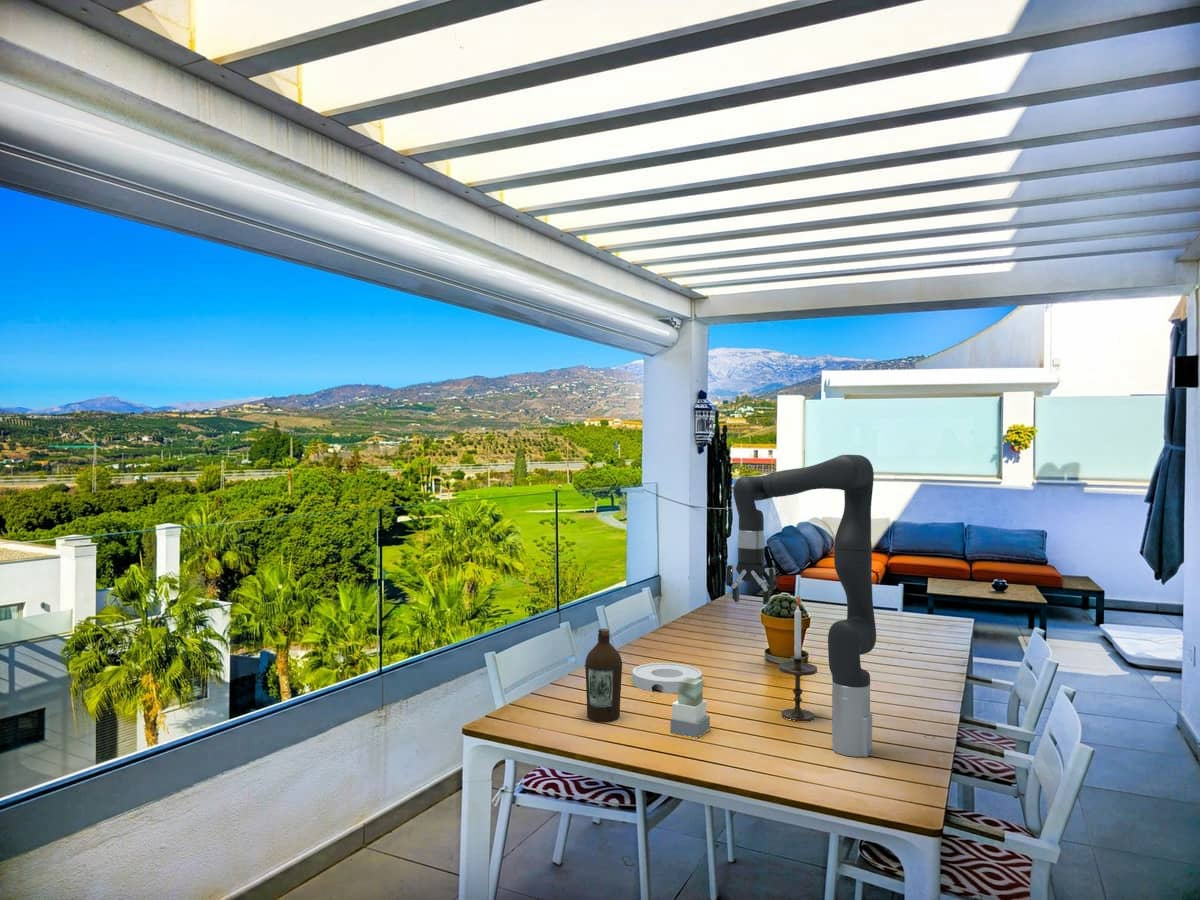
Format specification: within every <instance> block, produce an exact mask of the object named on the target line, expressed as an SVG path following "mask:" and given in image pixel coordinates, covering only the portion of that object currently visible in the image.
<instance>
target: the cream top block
mask: <svg viewBox="0 0 1200 900" xmlns="http://www.w3.org/2000/svg"><path fill="white" fill-rule="evenodd" d="M671 706H672V707H671V708H672V709H671V719H672V718H673V719H678V720H683V721H689V722H694V723H696V722H698V721H699V720H701V719H702V718H704V717H705V716H707V700H703V702H702V703H700V704H699V705H697V706H696V707H693V706H687V705H682V704H678V699H677V700H676V701H674V702H672V704H671Z"/></svg>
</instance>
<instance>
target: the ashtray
mask: <svg viewBox="0 0 1200 900" xmlns="http://www.w3.org/2000/svg"><path fill="white" fill-rule="evenodd" d="M686 677H687V678H693V679H700V680H703V672H702V670H701V669H699V668H698V667H695V666H693V665H689V664H688V665H687V664H685V663H684V664H683V663H682V664H681V663H673V662H654V663H653V662H652V663H645V664H641V665H637V666H636V667H633V668H632V670H631V683H632V685H633V686H634V687H636V688H637V689H640V690H642V691H647V692H650V693H651V692H653V689H656V690H658V691H660V692H661V693H663V694H678V681H680V680H682V679H684V678H686Z"/></svg>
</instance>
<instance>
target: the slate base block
mask: <svg viewBox="0 0 1200 900" xmlns="http://www.w3.org/2000/svg"><path fill="white" fill-rule="evenodd" d="M710 718H711V716H710V715H706V716H705V717H704V718H702V719H701V720H699V721H698V722H696V723H694V722H689V721H683V720H678V719H673V718H672V717H671V718H670V734H673V733H675V734H674V735H678V734H680V735H679V736H683V735H686V736H685V737H688V736H691V737H690V738H693V737H697V738H698V737H699V736H700V735H702V734H703V733H704V732H706V731H707V730H708V729H710V730H711V727H710V726H711V725H710V724H711V719H710ZM707 732H708V731H707ZM707 732H706V733H707ZM703 735H704V734H703ZM703 735H702V736H703ZM700 737H701V736H700ZM700 737H699V738H700ZM697 738H696V739H697ZM699 738H698V739H699Z"/></svg>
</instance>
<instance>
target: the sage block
mask: <svg viewBox="0 0 1200 900" xmlns="http://www.w3.org/2000/svg"><path fill="white" fill-rule="evenodd" d="M703 683H704V680H703V679H702V680H700V679H693V678H687V677H686V678H684V679H682V680H680V681H678V693H677V697H678V698H677V700H678V704H682V705H687V706H693V707H696V706H697V705H699V704H700V703H702V702H703V701H704V700H703V698H704V696H703V695H704V694H703V693H704V692H703V691H704V690H703V689H704V688H703V687H704V686H703V685H704V684H703Z"/></svg>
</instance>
